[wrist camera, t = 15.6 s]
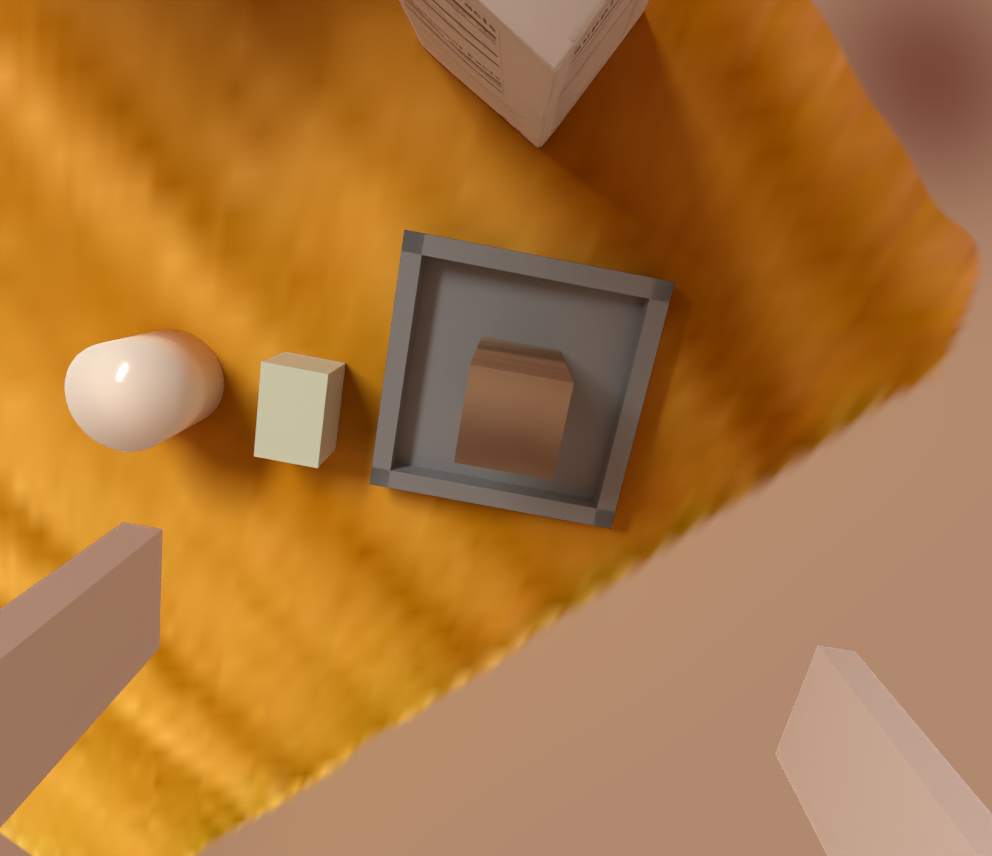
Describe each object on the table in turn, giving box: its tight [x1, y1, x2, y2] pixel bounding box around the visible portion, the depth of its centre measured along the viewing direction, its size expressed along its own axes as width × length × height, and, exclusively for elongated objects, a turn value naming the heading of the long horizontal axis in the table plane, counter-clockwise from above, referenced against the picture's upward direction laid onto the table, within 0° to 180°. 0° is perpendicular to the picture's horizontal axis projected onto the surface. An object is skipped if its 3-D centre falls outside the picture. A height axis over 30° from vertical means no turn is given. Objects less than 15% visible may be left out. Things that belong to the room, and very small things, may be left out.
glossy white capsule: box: [65, 329, 224, 452], centre depth 38 cm, size 6×6×6 cm
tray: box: [370, 230, 675, 529], centre depth 39 cm, size 16×16×2 cm
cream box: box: [254, 352, 346, 468], centre depth 39 cm, size 6×4×4 cm, turn 169°
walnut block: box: [454, 336, 574, 480], centre depth 35 cm, size 5×5×10 cm
